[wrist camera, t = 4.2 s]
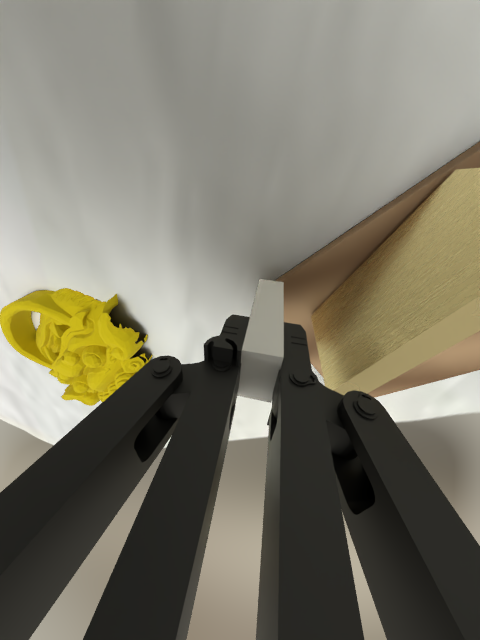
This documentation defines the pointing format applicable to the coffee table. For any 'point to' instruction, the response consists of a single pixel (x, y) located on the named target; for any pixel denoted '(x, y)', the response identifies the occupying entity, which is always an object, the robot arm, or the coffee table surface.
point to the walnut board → (350, 253)
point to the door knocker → (74, 341)
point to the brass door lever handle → (407, 293)
